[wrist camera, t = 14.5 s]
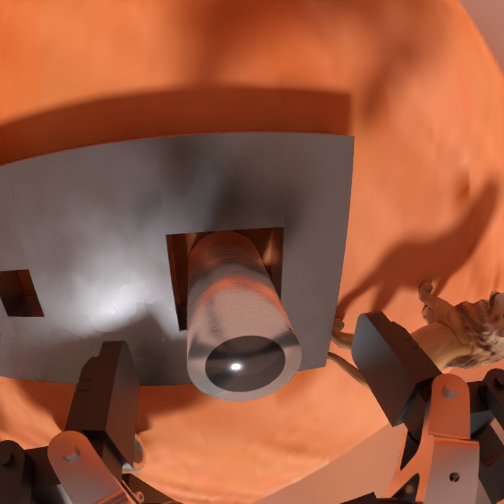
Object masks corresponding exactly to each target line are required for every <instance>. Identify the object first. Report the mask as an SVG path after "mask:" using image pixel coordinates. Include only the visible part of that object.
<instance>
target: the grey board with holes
mask: <svg viewBox="0 0 504 504" xmlns="http://www.w3.org/2000/svg"><path fill="white" fill-rule="evenodd" d="M353 155H354V136H348V135H342V134H335V133H322V132H301V131H222V132H200V133H185V134H172V135H161V136H151V137H141V138H133V139H125V140H117V141H110V142H104V143H97V144H91V145H85V146H80V147H74V148H69V149H64V150H59V151H54V152H49V153H45V154H40V155H36V156H31V157H27V158H23V159H19V160H15V161H12V162H8V163H4V164H1V165H0V376H2V377H9V378H16V379H24V380H32V381H41V382H52V383H65V384H77V383H78V382H79V377H80V373H81V370H82V367H83V366H84V365H85V364H86V362H87V361H88V360H89V359H90V357H99V353H100V350H101V347H102V344H103V342H104V341H126V342H127V344H128V347H129V350H130V353H131V356H132V358H133V361H134V364H135V367H136V370H137V373H138V377H139V386H150V385H177V384H194V383H193V382H192V381H191V379H190V377H189V374H188V369H187V304H185V305H180V298H179V291H178V284H177V276H176V269H175V261H174V252H173V243H172V234H181V233H195V232H209V231H224V230H239V229H255V228H271V269H270V279H271V281H272V284H273V286H274V288H275V290H276V292H277V294H278V297H279V299H280V301H281V303H282V305H283V308H284V310H285V312H286V314H287V316H288V319H289V321H290V323H291V325H292V327H293V330H294V332H295V334H296V336H297V338H298V341H299V343H300V346H301V349H302V360H301V364H300V366H299V369H298V371H303V370H309V369H314V368H319V367H325V365H326V360H327V356H328V351H329V346H330V340H331V335H332V330H333V324H334V319H335V313H336V307H337V301H338V295H339V288H340V282H341V275H342V268H343V260H344V253H345V245H346V236H347V227H348V218H349V208H350V197H351V185H352V171H353ZM24 269H29V272H30V275H31V279H32V282H33V285H34V288H35V291H36V294H37V295H24V294H23V291H22V289H21V286H20V283H19V280H18V277H17V274H16V270H24Z"/></svg>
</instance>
